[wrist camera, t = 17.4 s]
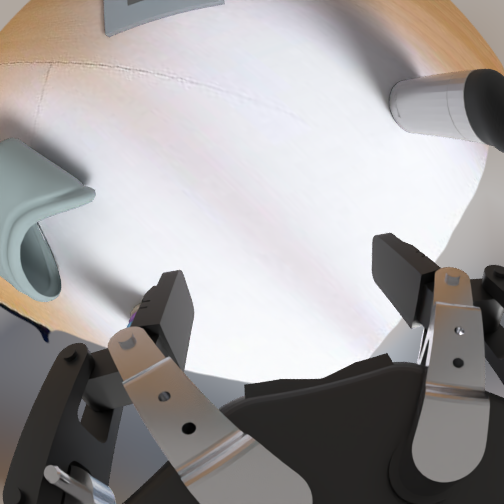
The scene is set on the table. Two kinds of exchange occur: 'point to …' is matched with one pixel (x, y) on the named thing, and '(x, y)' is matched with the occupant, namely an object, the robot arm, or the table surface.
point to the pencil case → (32, 216)
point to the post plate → (146, 11)
